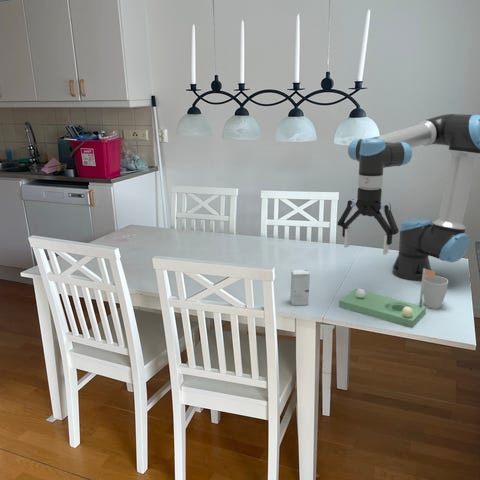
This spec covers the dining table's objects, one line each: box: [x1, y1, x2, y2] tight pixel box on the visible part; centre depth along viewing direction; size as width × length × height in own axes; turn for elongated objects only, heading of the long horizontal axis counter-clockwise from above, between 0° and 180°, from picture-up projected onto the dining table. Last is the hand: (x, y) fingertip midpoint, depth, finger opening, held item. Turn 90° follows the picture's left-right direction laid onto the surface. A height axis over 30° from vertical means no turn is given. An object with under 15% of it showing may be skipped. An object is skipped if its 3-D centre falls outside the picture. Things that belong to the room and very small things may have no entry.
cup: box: [422, 275, 449, 310], centre depth 170 cm, size 8×8×10 cm
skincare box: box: [289, 269, 311, 306], centre depth 174 cm, size 6×4×12 cm
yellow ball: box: [402, 306, 413, 317], centre depth 158 cm, size 3×3×3 cm
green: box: [338, 288, 427, 328], centre depth 169 cm, size 26×13×2 cm, turn 51°
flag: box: [418, 268, 436, 308], centre depth 162 cm, size 1×4×14 cm, turn 52°
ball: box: [356, 288, 366, 298], centre depth 172 cm, size 3×3×3 cm
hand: (365, 249), depth 163 cm, fingers open, 13 cm apart
